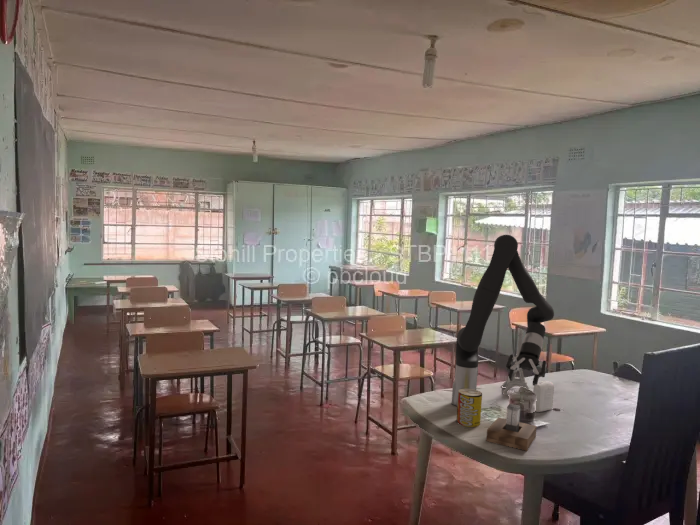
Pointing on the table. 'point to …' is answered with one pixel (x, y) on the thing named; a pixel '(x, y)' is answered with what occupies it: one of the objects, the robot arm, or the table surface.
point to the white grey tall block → (513, 417)
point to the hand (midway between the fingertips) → (522, 382)
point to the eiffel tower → (516, 380)
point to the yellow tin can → (469, 407)
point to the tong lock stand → (511, 434)
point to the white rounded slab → (544, 395)
